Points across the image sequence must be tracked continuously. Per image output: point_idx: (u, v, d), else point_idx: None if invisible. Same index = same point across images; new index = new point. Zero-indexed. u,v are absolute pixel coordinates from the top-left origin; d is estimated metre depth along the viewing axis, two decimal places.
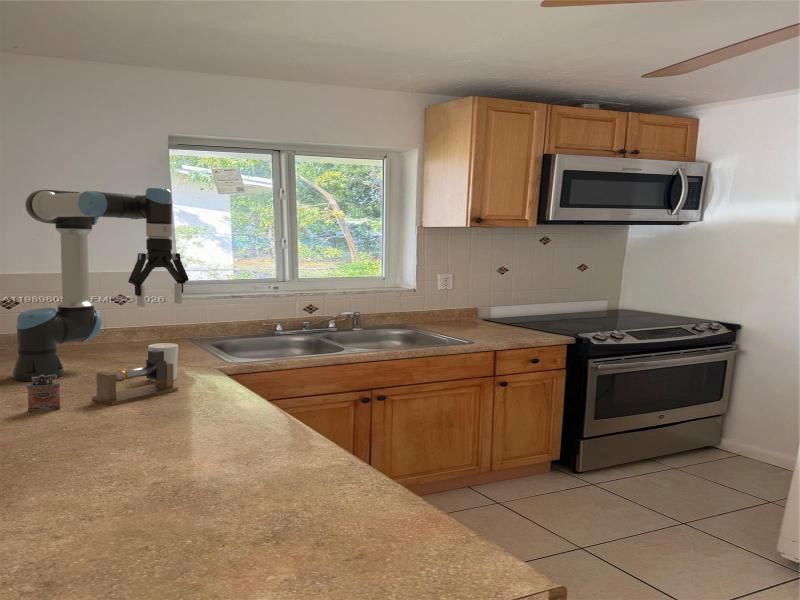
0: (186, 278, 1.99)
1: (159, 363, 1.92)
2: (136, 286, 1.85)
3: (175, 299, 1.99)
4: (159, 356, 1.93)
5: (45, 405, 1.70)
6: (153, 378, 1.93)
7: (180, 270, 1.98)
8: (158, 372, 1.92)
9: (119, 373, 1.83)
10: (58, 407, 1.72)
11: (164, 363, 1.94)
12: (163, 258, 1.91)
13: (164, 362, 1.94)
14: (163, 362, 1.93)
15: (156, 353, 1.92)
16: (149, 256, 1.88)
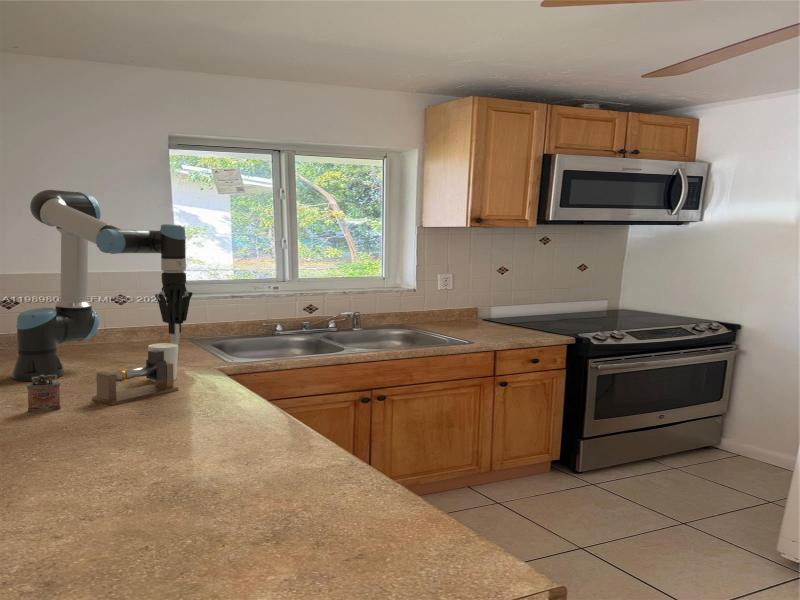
0: (184, 318, 2.01)
1: (159, 363, 1.92)
2: (170, 325, 1.97)
3: None
4: (159, 356, 1.93)
5: (45, 405, 1.70)
6: (153, 378, 1.93)
7: (184, 308, 2.01)
8: (158, 372, 1.92)
9: (119, 373, 1.83)
10: (58, 407, 1.72)
11: (164, 363, 1.94)
12: (178, 290, 1.98)
13: (164, 362, 1.94)
14: (163, 362, 1.93)
15: (156, 353, 1.92)
16: (165, 292, 1.95)
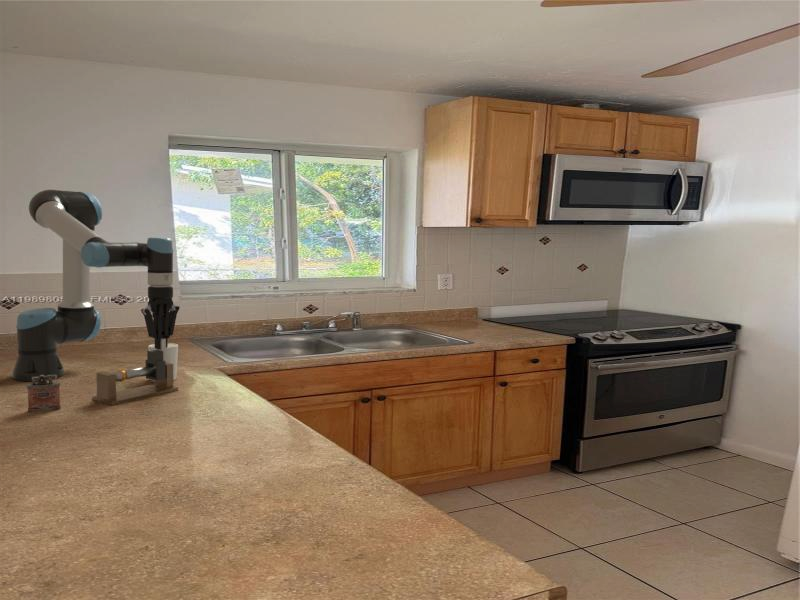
0: (171, 332, 1.97)
1: (158, 363, 1.92)
2: (156, 340, 1.94)
3: None
4: (158, 356, 1.93)
5: (45, 405, 1.70)
6: (152, 378, 1.93)
7: (171, 322, 1.97)
8: (157, 372, 1.92)
9: (119, 373, 1.83)
10: (58, 407, 1.72)
11: (164, 363, 1.94)
12: (164, 305, 1.94)
13: (163, 362, 1.94)
14: (162, 362, 1.93)
15: (155, 353, 1.92)
16: (151, 307, 1.91)
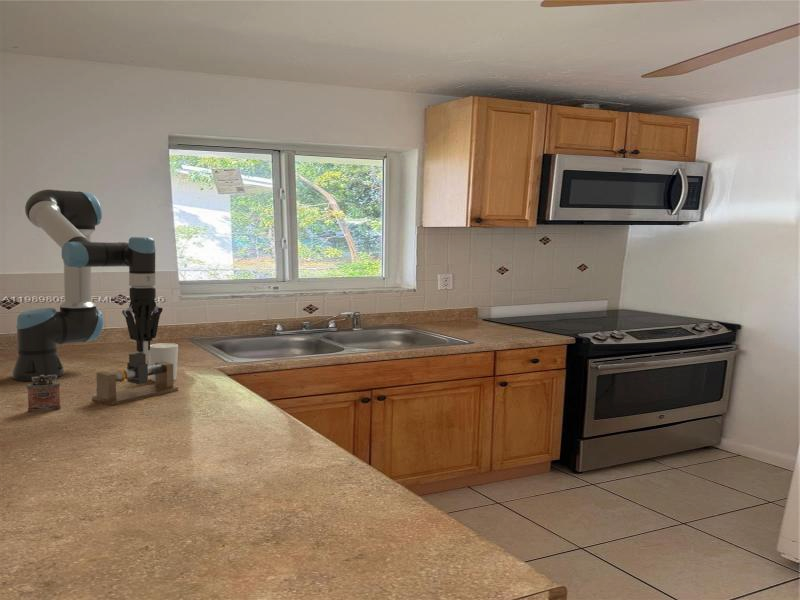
0: (154, 334, 1.92)
1: (140, 366, 1.87)
2: (138, 342, 1.88)
3: None
4: (140, 359, 1.87)
5: (45, 405, 1.70)
6: (134, 382, 1.88)
7: (154, 324, 1.92)
8: (139, 376, 1.87)
9: (119, 373, 1.83)
10: (58, 407, 1.72)
11: (146, 366, 1.88)
12: (147, 306, 1.89)
13: (146, 365, 1.88)
14: (144, 365, 1.88)
15: (137, 356, 1.87)
16: (133, 308, 1.85)
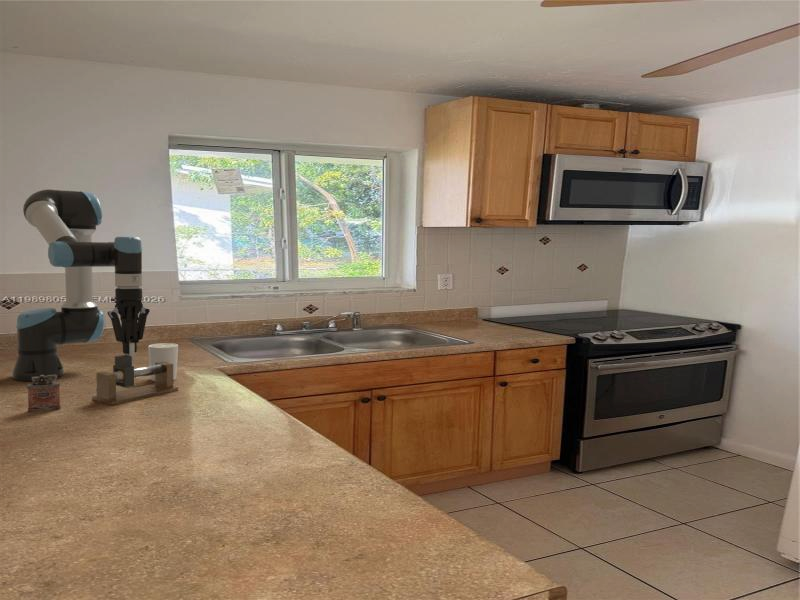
0: (140, 336, 1.88)
1: (126, 369, 1.83)
2: (124, 344, 1.84)
3: None
4: (126, 362, 1.83)
5: (45, 405, 1.70)
6: (120, 385, 1.84)
7: (140, 325, 1.88)
8: (125, 378, 1.83)
9: (119, 373, 1.83)
10: (58, 407, 1.72)
11: (132, 369, 1.84)
12: (133, 307, 1.85)
13: (132, 368, 1.84)
14: (131, 368, 1.84)
15: (123, 358, 1.83)
16: (119, 309, 1.82)
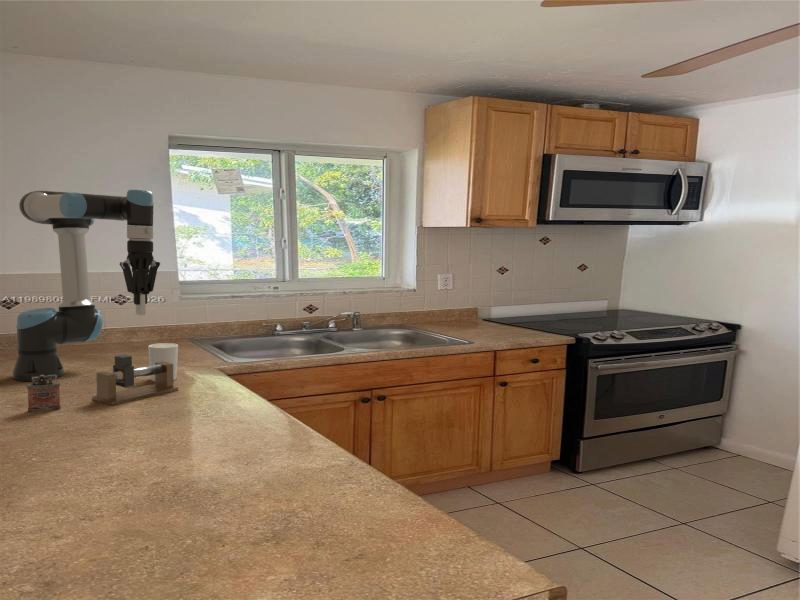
0: (151, 288, 1.93)
1: (126, 369, 1.83)
2: (135, 295, 1.89)
3: None
4: (126, 362, 1.83)
5: (45, 405, 1.70)
6: (120, 385, 1.84)
7: (151, 278, 1.93)
8: (125, 378, 1.83)
9: (119, 373, 1.83)
10: (58, 407, 1.72)
11: (132, 369, 1.84)
12: (144, 260, 1.90)
13: (132, 368, 1.84)
14: (131, 368, 1.84)
15: (123, 358, 1.83)
16: (130, 260, 1.86)
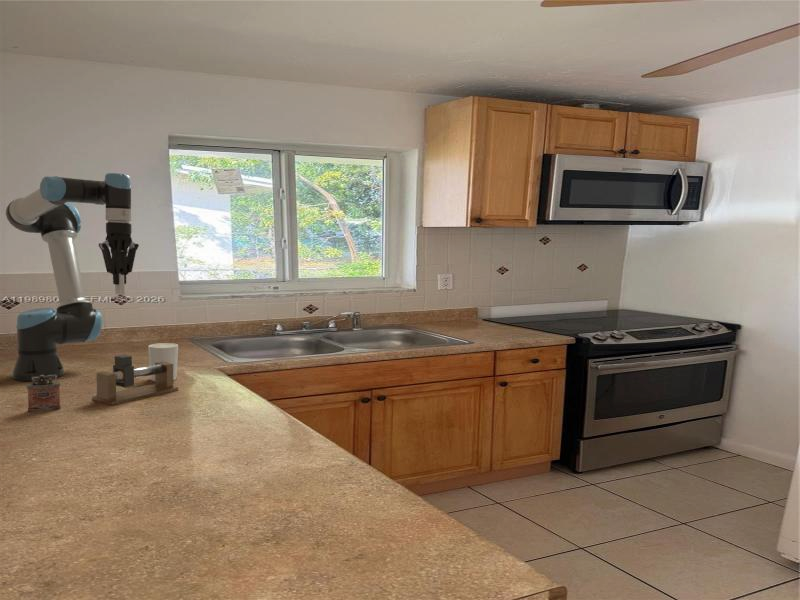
0: (130, 269, 2.00)
1: (126, 369, 1.83)
2: (114, 275, 1.96)
3: None
4: (126, 362, 1.83)
5: (45, 405, 1.70)
6: (120, 385, 1.84)
7: (130, 259, 2.00)
8: (125, 378, 1.83)
9: (119, 373, 1.83)
10: (58, 407, 1.72)
11: (132, 369, 1.84)
12: (123, 241, 1.97)
13: (132, 368, 1.84)
14: (131, 368, 1.84)
15: (123, 358, 1.83)
16: (109, 242, 1.93)
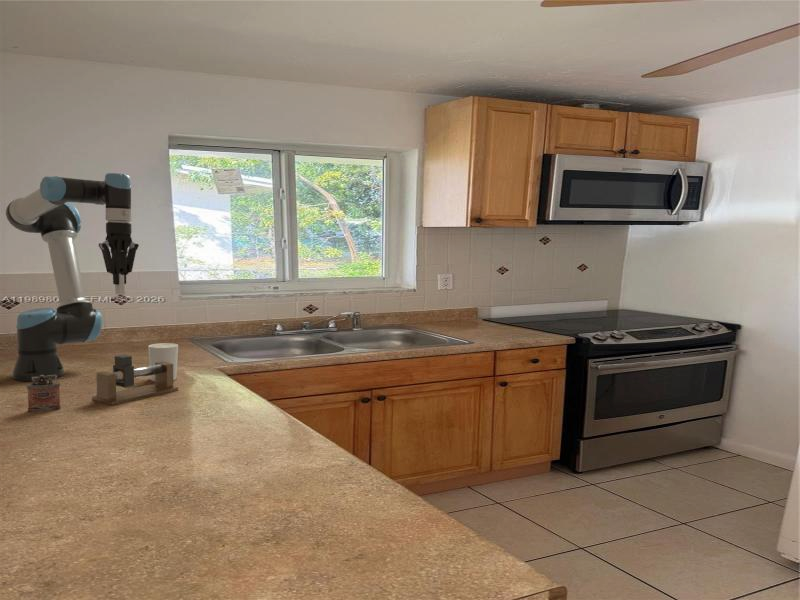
0: (130, 269, 2.00)
1: (126, 369, 1.83)
2: (114, 275, 1.96)
3: None
4: (126, 362, 1.83)
5: (45, 405, 1.70)
6: (120, 385, 1.84)
7: (130, 259, 2.00)
8: (125, 378, 1.83)
9: (119, 373, 1.83)
10: (58, 407, 1.72)
11: (132, 369, 1.84)
12: (123, 241, 1.97)
13: (132, 368, 1.84)
14: (131, 368, 1.84)
15: (123, 358, 1.83)
16: (109, 242, 1.93)
